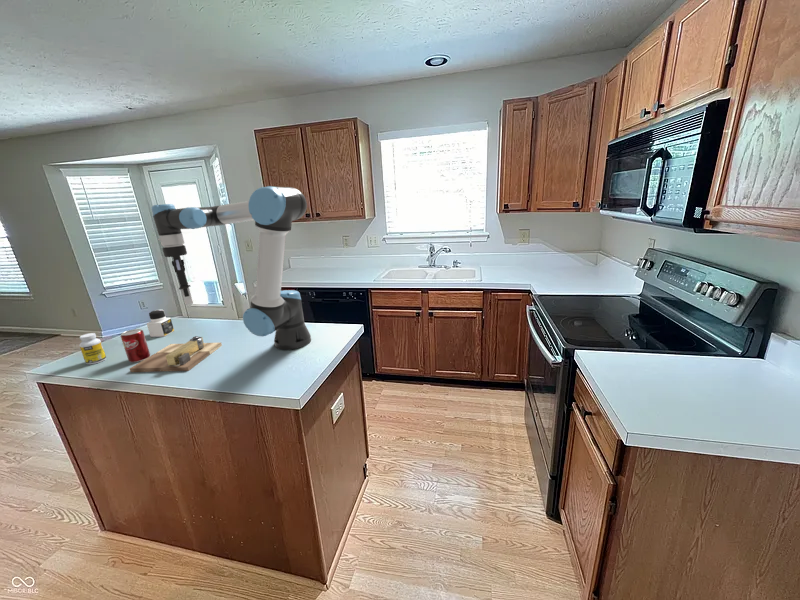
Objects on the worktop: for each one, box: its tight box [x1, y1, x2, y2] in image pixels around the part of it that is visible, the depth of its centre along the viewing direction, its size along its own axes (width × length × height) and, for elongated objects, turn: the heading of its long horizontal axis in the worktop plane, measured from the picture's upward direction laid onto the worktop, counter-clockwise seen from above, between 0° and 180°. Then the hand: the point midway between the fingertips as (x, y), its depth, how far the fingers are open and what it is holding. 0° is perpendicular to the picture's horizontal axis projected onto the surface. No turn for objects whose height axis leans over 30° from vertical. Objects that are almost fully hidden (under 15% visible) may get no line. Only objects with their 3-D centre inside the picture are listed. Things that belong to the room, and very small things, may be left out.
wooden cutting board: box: [129, 342, 223, 373], centre depth 135 cm, size 23×22×4 cm
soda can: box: [120, 328, 151, 364], centre depth 135 cm, size 7×7×12 cm
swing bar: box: [166, 336, 205, 365], centre depth 132 cm, size 17×4×5 cm, turn 176°
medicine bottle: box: [146, 309, 175, 338], centre depth 161 cm, size 7×7×12 cm
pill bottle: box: [79, 332, 107, 365], centre depth 135 cm, size 6×6×12 cm
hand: (189, 303), depth 136 cm, fingers closed
